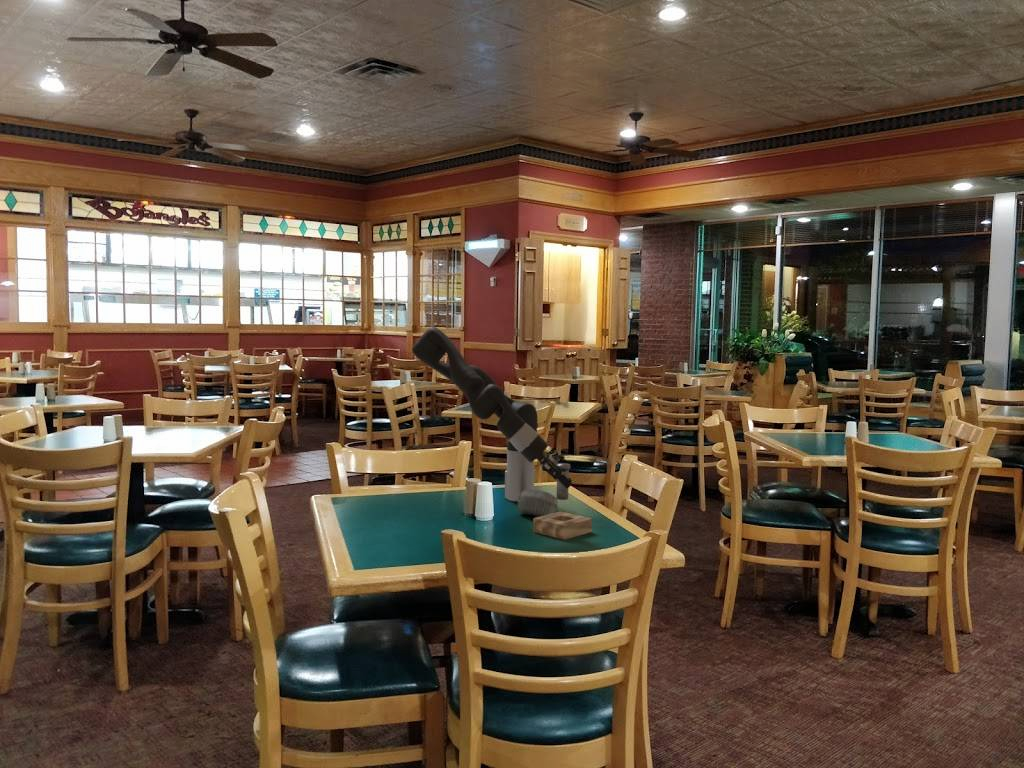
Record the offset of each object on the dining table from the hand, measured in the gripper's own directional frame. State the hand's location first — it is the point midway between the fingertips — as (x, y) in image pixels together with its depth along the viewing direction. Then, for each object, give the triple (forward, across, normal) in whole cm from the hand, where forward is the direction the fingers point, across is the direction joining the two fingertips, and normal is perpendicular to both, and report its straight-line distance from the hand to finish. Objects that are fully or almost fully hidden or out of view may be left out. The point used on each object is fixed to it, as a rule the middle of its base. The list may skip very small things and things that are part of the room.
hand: (569, 484), depth 237 cm
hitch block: (+9, 0, -11) cm, 14 cm away
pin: (+1, 0, -4) cm, 5 cm away
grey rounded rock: (+3, -18, -17) cm, 25 cm away
